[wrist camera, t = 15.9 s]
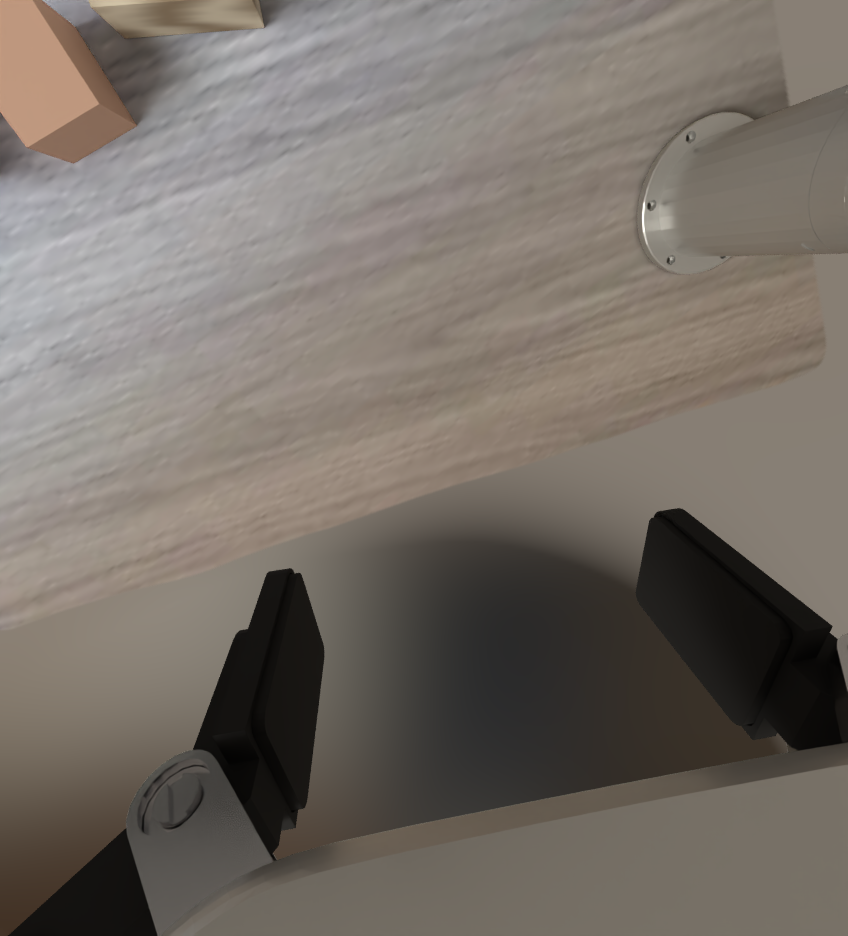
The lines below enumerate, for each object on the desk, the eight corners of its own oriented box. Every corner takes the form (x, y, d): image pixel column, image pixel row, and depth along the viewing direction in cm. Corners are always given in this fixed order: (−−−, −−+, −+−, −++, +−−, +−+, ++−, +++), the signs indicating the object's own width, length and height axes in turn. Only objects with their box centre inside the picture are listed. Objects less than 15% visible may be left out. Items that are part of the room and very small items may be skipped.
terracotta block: (76, 27, 29) (22, -16, 24) (137, 126, 31) (99, 103, 27) (8, 70, 29) (-57, 36, 25) (74, 163, 32) (27, 147, 28)
